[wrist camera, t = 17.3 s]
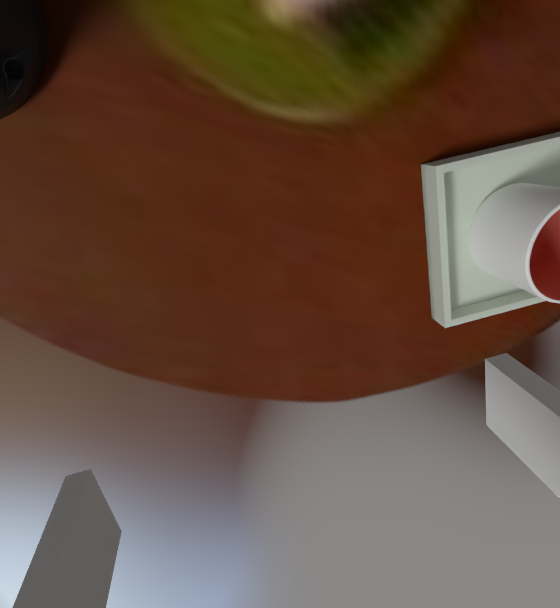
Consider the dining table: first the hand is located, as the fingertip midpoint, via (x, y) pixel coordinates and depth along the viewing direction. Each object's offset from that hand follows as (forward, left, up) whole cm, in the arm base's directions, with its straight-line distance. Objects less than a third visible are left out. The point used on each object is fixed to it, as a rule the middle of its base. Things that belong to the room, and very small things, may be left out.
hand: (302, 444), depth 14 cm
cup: (+6, +29, -31) cm, 43 cm away
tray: (+6, +29, -32) cm, 43 cm away
